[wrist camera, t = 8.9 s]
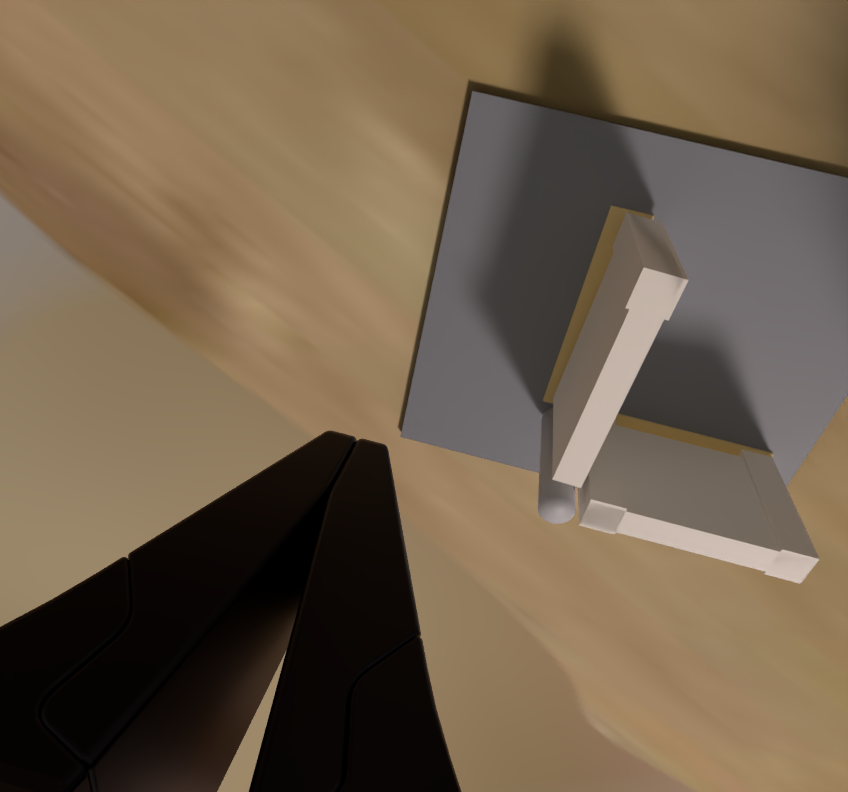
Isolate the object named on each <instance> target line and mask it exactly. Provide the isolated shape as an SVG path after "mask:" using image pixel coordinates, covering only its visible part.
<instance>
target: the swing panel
mask: <svg viewBox="0 0 848 792" xmlns="http://www.w3.org/2000/svg"><path fill="white" fill-rule="evenodd" d="M612 248H613V255H612V258H611V260H610V262H609V265H608V267H607V270H606V272H605V274H604V277H603V279H602V282H601V284H600V287H599V289H598V291H597V294H596V296H595V299H594V301H593V303H592V306H591V308H590V311H589V313H588V315H587V318H586V320H585V323H584V325H583V327H582V330H581V332H580V335H579V337H578V339H577V342H576V344H575V347H574V349H573V351H572V354H571V356H570V359H569V361H568V364H567V366H566V368H565V371H564V373H563V376H562V378H561V380H560V383H559V385H558V388H557V390H556V392H555V395H554V397H553V408H551V409H549V410H547V411H546V412H545V413H544V414H543V416H542V422H541V446H540V471H539V496H538V512H539V514H540V516H541V517H542V518H543V519H544V520H546V521H548V522H550V523H555V524H560V523H565V522H567V521H569V520H571V519H572V518H573V516H574V515H575V486H576V487H579V488H581V487H582V485H583V483H584V481H585V479H586V477H587V475H588V473H589V471H590V469H591V467H592V465H593V463H594V461H595V459H596V457H597V455H598V453H599V451H600V449H601V447H602V444H603V442H604V440H605V438H606V436H607V434H608V432H609V430H610V428H611V426H612V424H613V422H614V420H615V418H616V416H617V414H618V412H619V410H620V408H621V406H622V404H623V402H624V400H625V398H626V396H627V394H628V392H629V390H630V388H631V386H632V384H633V382H634V380H635V378H636V376H637V374H638V371H639V369H640V367H641V365H642V363H643V361H644V359H645V357H646V355H647V353H648V351H649V349H650V347H651V345H652V343H653V341H654V339H655V337H656V335H657V333H658V331H659V329H660V327H661V325H662V323H663V321H664V319H665V320H668V321H669V319H670V317H671V315H672V313H673V311H674V309H675V307H676V305H677V303H678V301H679V299H680V297H681V295H682V293H683V291H684V289H685V287H686V285H687V283H688V281H689V280H688V278H687V275H686V273H685V271H684V269H683V267H682V264H681V262H680V260H679V258H678V256H677V254H676V251H675V249H674V247H673V245H672V243H671V240H670V238H669V236H668V234H667V232H666V229H665V227H664V225H663V223H662V222H659V221H656V220H652V219H649V218H645V217H642V216H638V215H635V214H631V213H628V212H626V214H625V217H624V219H623V222H622V224H621V226H620V229H619V231H618V234H617V236H616V239H615V241H614V243H613V246H612Z"/></svg>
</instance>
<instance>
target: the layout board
mask: <svg viewBox="0 0 848 792" xmlns="http://www.w3.org/2000/svg"><path fill="white" fill-rule="evenodd" d="M626 212H628V213H631V214H635V215H638V216H642V217H645V218H649V219H652V220H656V221H659V222H662V223H663V225H664V227H665V229H666V232H667V234H668V236H669V238H670V240H671V243H672V245H673V247H674V249H675V251H676V254H677V256H678V258H679V260H680V262H681V264H682V267H683V269H684V271H685V273H686V275H687V278H688V280H689V281H688V283H687V285H686V287H685V289H684V291H683V293H682V295H681V297H680V299H679V301H678V303H677V305H676V307H675V309H674V311H673V313H672V315H671V317H670V319H669V321H668V320H665V319H664V321H663V323H662V325H661V327H660V329H659V331H658V333H657V335H656V337H655V339H654V341H653V343H652V345H651V347H650V349H649V351H648V353H647V355H646V357H645V359H644V361H643V363H642V365H641V367H640V369H639V371H638V374H637V376H636V378H635V380H634V382H633V384H632V386H631V388H630V390H629V392H628V394H627V396H626V398H625V400H624V402H623V404H622V406H621V408H620V410H619V412H618V414H617V416H616V418H615V420H616V425H618V426H622V427H626V428H630V429H634V430H638V431H642V432H646V433H650V434H654V435H658V436H662V437H665V438H669V439H673V440H677V441H681V442H685V443H689V444H693V445H697V446H701V447H705V448H708V449H712V450H716V451H720V452H724V453H728V454H732V455H736V456H738V455H739V453H740V451H741V450H746V451H750V452H754V453H758V454H762V455H766V456H770V457H772V458H773V460H774V462H775V464H776V466H777V468H778V470H779V473H780V475H781V477H782V479H783V481H784V483H785V486H787V485H788V483H789V482H790V480H791V479H792V477H793V476H794V474H795V473H796V471H797V470H798V468H799V467H800V465H801V464H802V462H803V461H804V459H805V458H806V456H807V455H808V453H809V452H810V450H811V449H812V447H813V446H814V444H815V443H816V441H817V440H818V438H819V437H820V435H821V434H822V432H823V431H824V430H825V428H826V427H827V425H828V424H829V422H830V421H831V419H832V418H833V416H834V415H835V413H836V412H837V410H838V409H839V407H840V406H841V404H842V403H843V401H844V400H845V398H846V397H847V395H848V177H845V176H840V175H836V174H832V173H828V172H823V171H819V170H815V169H810V168H806V167H802V166H798V165H793V164H789V163H785V162H780V161H776V160H772V159H767V158H763V157H759V156H755V155H750V154H746V153H742V152H737V151H733V150H729V149H724V148H720V147H716V146H712V145H707V144H703V143H699V142H694V141H690V140H686V139H681V138H677V137H673V136H669V135H664V134H660V133H656V132H651V131H647V130H643V129H638V128H634V127H630V126H626V125H621V124H617V123H613V122H608V121H604V120H600V119H595V118H591V117H587V116H583V115H578V114H574V113H570V112H565V111H561V110H557V109H552V108H548V107H544V106H540V105H535V104H531V103H527V102H522V101H518V100H514V99H509V98H505V97H501V96H497V95H492V94H488V93H484V92H479V91H475V90H473V91H472V95H471V100H470V105H469V110H468V114H467V119H466V124H465V129H464V134H463V139H462V143H461V148H460V153H459V158H458V163H457V167H456V172H455V177H454V182H453V187H452V191H451V196H450V201H449V206H448V211H447V215H446V220H445V225H444V230H443V235H442V239H441V244H440V249H439V254H438V259H437V264H436V268H435V273H434V278H433V283H432V288H431V292H430V297H429V302H428V307H427V312H426V316H425V321H424V326H423V331H422V336H421V340H420V345H419V350H418V355H417V360H416V365H415V369H414V374H413V379H412V384H411V389H410V393H409V398H408V403H407V408H406V413H405V417H404V422H403V427H402V432H401V437H403V438H407V439H411V440H415V441H419V442H423V443H426V444H430V445H434V446H438V447H442V448H446V449H449V450H453V451H457V452H461V453H465V454H469V455H472V456H476V457H480V458H484V459H488V460H492V461H495V462H499V463H503V464H507V465H511V466H515V467H518V468H522V469H526V470H530V471H534V472H538V473H539V471H540V446H541V422H542V416H543V414H544V413H545V412H546V411H547V410H549V409H551V408H553V397H554V395H555V392H556V390H557V388H558V385H559V383H560V380H561V378H562V376H563V373H564V371H565V368H566V366H567V364H568V361H569V359H570V356H571V354H572V351H573V349H574V347H575V344H576V342H577V339H578V337H579V335H580V332H581V330H582V327H583V325H584V323H585V320H586V318H587V315H588V313H589V311H590V308H591V306H592V303H593V301H594V299H595V296H596V294H597V291H598V289H599V287H600V284H601V282H602V279H603V277H604V274H605V272H606V270H607V267H608V265H609V262H610V260H611V258H612V255H613V248H612V246H613V243H614V241H615V239H616V236H617V234H618V231H619V229H620V226H621V224H622V222H623V219H624V217H625V214H626Z"/></svg>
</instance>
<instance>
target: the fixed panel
mask: <svg viewBox="0 0 848 792" xmlns="http://www.w3.org/2000/svg"><path fill="white" fill-rule="evenodd" d="M578 505H579V525H580V526H584V527H588V528H591V529H595V530H599V531H603V532H607V533H610V534H614V535H615V532H617V533H621V534H625V535H629V536H633V537H636V538H640V539H644V540H648V541H651V542H655V543H659V544H663V545H667V546H670V547H674V548H678V549H682V550H686V551H689V552H693V553H697V554H701V555H705V556H708V557H712V558H716V559H720V560H723V561H727V562H731V563H735V564H739V565H742V566H746V567H750V568H754V569H758V570H761V571H763V572H764V574H766V575H769V576H773V577H777V578H781V579H785V580H788V581H792V582H796V583H800V584H801V582H802V581H803V580H804V578H805V577H806V576H807V575H808V573H809V572H810V571H811V569H812V568H813V567H814V566H815V564H816V563H817V562H818V560H819V557H818V555H817V553H816V550H815V548H814V546H813V544H812V542H811V540H810V537H809V535H808V533H807V531H806V529H805V527H804V525H803V522H802V520H801V518H800V516H799V514H798V512H797V509H796V507H795V505H794V503H793V501H792V499H791V496H790V494H789V492H788V490H787V488H786V486H785V483H784V481H783V479H782V477H781V475H780V473H779V470H778V468H777V466H776V464H775V462H774V460H773V458H772V457H770V456H766V455H762V454H758V453H754V452H750V451H746V450H741V451H740V453H739V455H738V456H736V455H732V454H728V453H724V452H720V451H716V450H712V449H708V448H705V447H701V446H697V445H693V444H689V443H685V442H681V441H677V440H673V439H669V438H665V437H662V436H658V435H654V434H650V433H646V432H642V431H638V430H634V429H630V428H626V427H622V426H618V425H616V420H614V422H613V424H612V426H611V428H610V430H609V432H608V434H607V436H606V438H605V440H604V442H603V444H602V447H601V449H600V451H599V453H598V455H597V457H596V459H595V461H594V463H593V465H592V467H591V469H590V471H589V473H588V475H587V477H586V479H585V481H584V483H583V485H582V487H581V488H579V487H578Z"/></svg>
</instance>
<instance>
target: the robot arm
mask: <svg viewBox="0 0 848 792" xmlns="http://www.w3.org/2000/svg"><path fill="white" fill-rule="evenodd" d="M420 636H421V632H420V626H419V620H418V615H417V609H416V604H415V598H414V593H413V587H412V581H411V575H410V570H409V565H408V559H407V553H406V548H405V542H404V536H403V531H402V525H401V519H400V514H399V508H398V503H397V497H396V491H395V486H394V480H393V475H392V469H391V463H390V458H389V452H388V448H387V446H386V445H384V444H381V443H378V442H374V441H370V440H366V439H359V440H358V441H356V438H355V437H353V436H350V435H347V434H343V433H339V432H335V431H326V432H324V433H323V434H321V435H320V436H318V437H316V438H315V439H313V440H311V441H310V442H308V443H307V444H305V445H303V446H302V447H300V448H299V449H297V450H295V451H294V452H292V453H290V454H289V455H287V456H286V457H284V458H282V459H281V460H279V461H278V462H276V463H274V464H273V465H271V466H269V467H268V468H266V469H265V470H263V471H261V472H260V473H258V474H257V475H255V476H253V477H252V478H250V479H249V480H247V481H245V482H244V483H242V484H240V485H239V486H237V487H236V488H234V489H232V490H231V491H229V492H227V493H226V494H224V495H223V496H221V497H219V498H218V499H216V500H215V501H213V502H211V503H210V504H208V505H206V506H205V507H203V508H202V509H200V510H198V511H197V512H195V513H194V514H192V515H190V516H189V517H187V518H185V519H184V520H182V521H181V522H179V523H177V524H176V525H174V526H173V527H171V528H169V529H168V530H166V531H165V532H163V533H161V534H160V535H158V536H156V537H155V538H153V539H151V540H150V541H148V542H147V543H145V544H143V545H142V546H140V547H139V548H137V549H135V550H134V551H132V552H131V553H129V555H128V559H127V558H126V557H122V558H120V559H119V560H117V561H115V562H114V563H112V564H111V565H109V566H108V567H106V568H104V569H103V570H101V571H99V572H98V573H96V574H94V575H93V576H91V577H89V578H88V579H86V580H84V581H83V582H81V583H79V584H77V585H76V586H74V587H72V588H71V589H69V590H67V591H65V592H64V593H62V594H60V595H59V596H57V597H55V598H53V599H52V600H50V601H48V602H46V603H45V604H42V605H41V606H39V607H37V608H35V609H33V610H31V611H29V612H28V613H25V614H24V615H22V616H20V617H18V618H16V619H14V620H12V621H10V622H8V623H7V624H5V625H3V626H1V627H0V792H217V791H218V788H219V786H220V785H221V782H222V781H223V779H224V777H225V774H226V772H227V770H228V768H229V766H230V764H231V762H232V760H233V758H234V756H235V754H236V752H237V750H238V748H239V746H240V744H241V742H242V740H243V738H244V736H245V734H246V732H247V729H248V727H249V725H250V723H251V721H252V719H253V717H254V715H255V713H256V711H257V709H258V707H259V705H260V703H261V701H262V699H263V697H264V695H265V693H266V691H267V689H268V687H269V684H270V682H271V680H272V678H273V676H274V674H275V672H276V670H277V668H278V666H279V664H280V662H281V660H282V658H283V656H284V654H285V652H286V655H285V659H284V662H283V666H282V670H281V674H280V677H279V681H278V685H277V688H276V692H275V696H274V699H273V704H272V707H271V711H270V715H269V718H268V722H267V726H266V729H265V733H264V737H263V741H262V744H261V748H260V752H259V755H258V760H257V763H256V767H255V770H254V774H253V778H252V782H251V786H250V789H249V792H461V789H460V786H459V783H458V780H457V777H456V774H455V771H454V768H453V765H452V761H451V758H450V755H449V752H448V748H447V744H446V741H445V738H444V734H443V731H442V727H441V723H440V720H439V717H438V713H437V710H436V705H435V700H434V696H433V691H432V687H431V682H430V677H429V673H428V669H427V663H426V657H425V652H424V646H423V641H422V639H421V638H420ZM286 650H287V651H286Z"/></svg>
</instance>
